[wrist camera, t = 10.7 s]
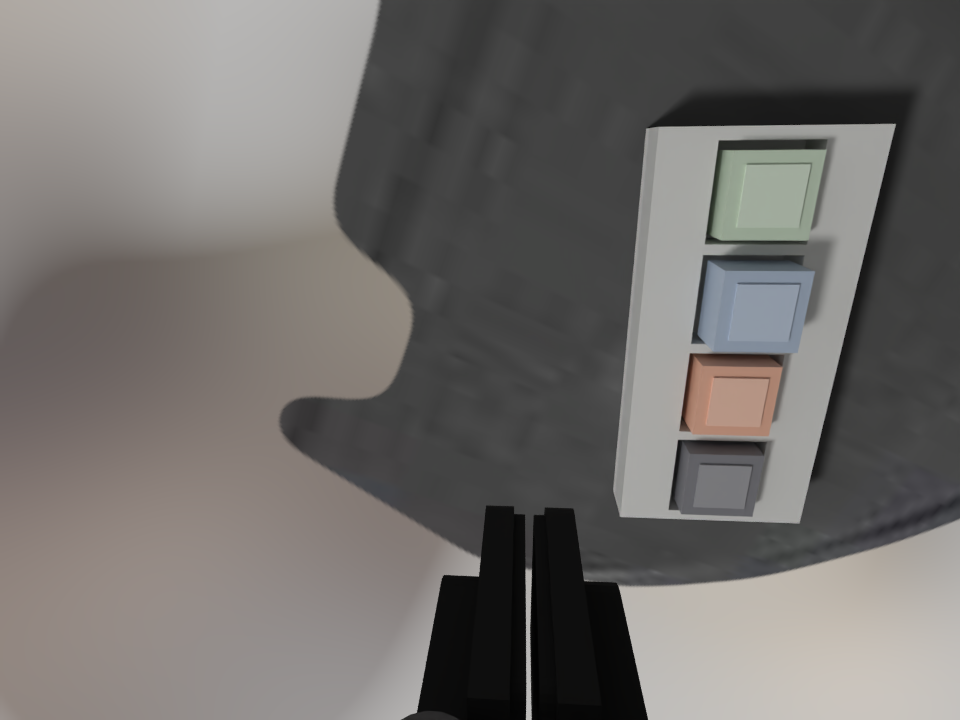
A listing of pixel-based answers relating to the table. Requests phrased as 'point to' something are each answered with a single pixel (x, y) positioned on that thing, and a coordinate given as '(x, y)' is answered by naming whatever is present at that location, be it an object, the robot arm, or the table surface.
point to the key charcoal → (716, 477)
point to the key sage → (765, 194)
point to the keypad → (678, 299)
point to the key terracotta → (730, 394)
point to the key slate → (754, 305)
